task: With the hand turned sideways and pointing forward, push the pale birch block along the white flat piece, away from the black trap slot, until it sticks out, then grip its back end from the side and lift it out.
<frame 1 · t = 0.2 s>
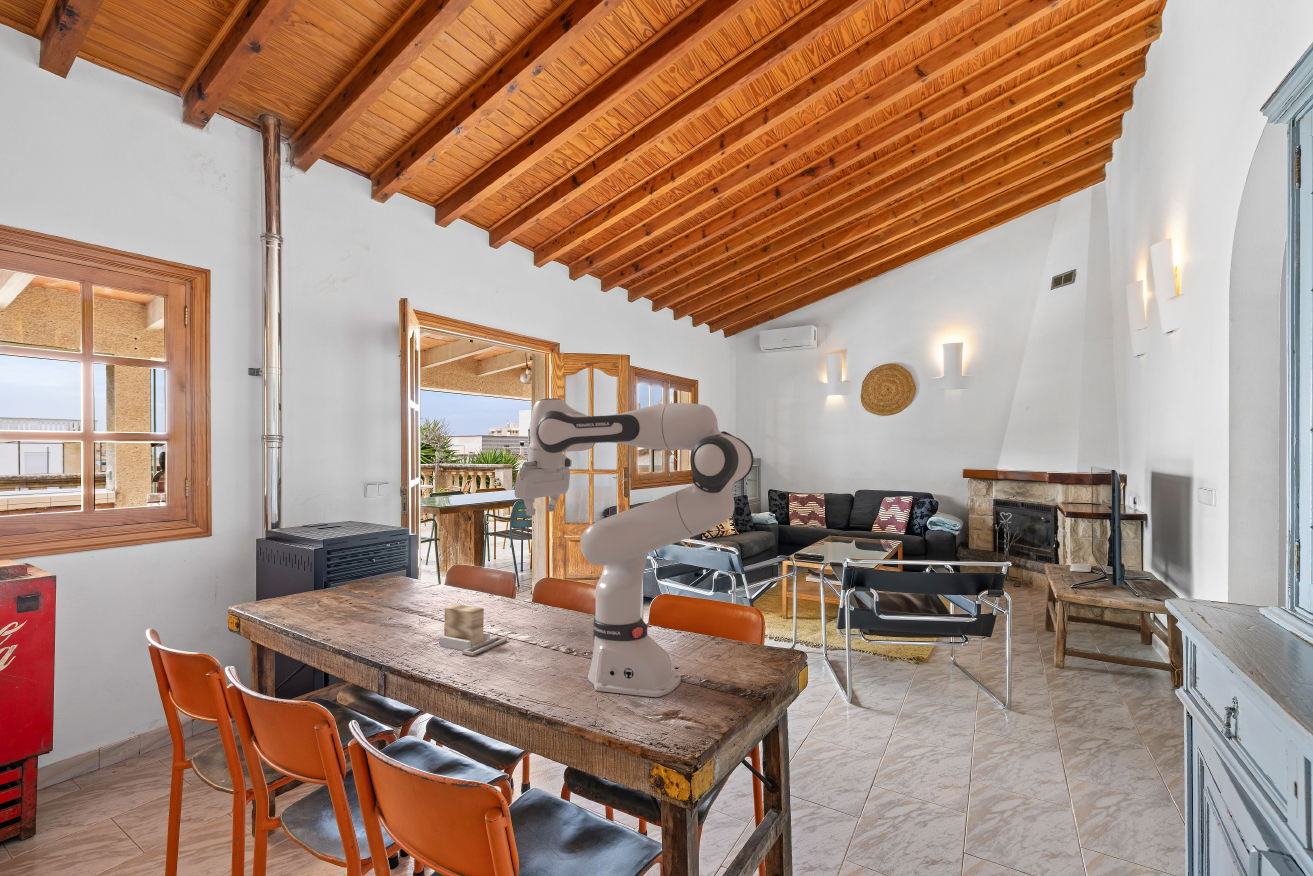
hand: (540, 513, 155), 38 cm above the table, fingers open, 8 cm apart
birch block: (463, 643, 167), on the table
white flat piece: (464, 643, 166), on the table
trap slot: (485, 647, 163), on the table
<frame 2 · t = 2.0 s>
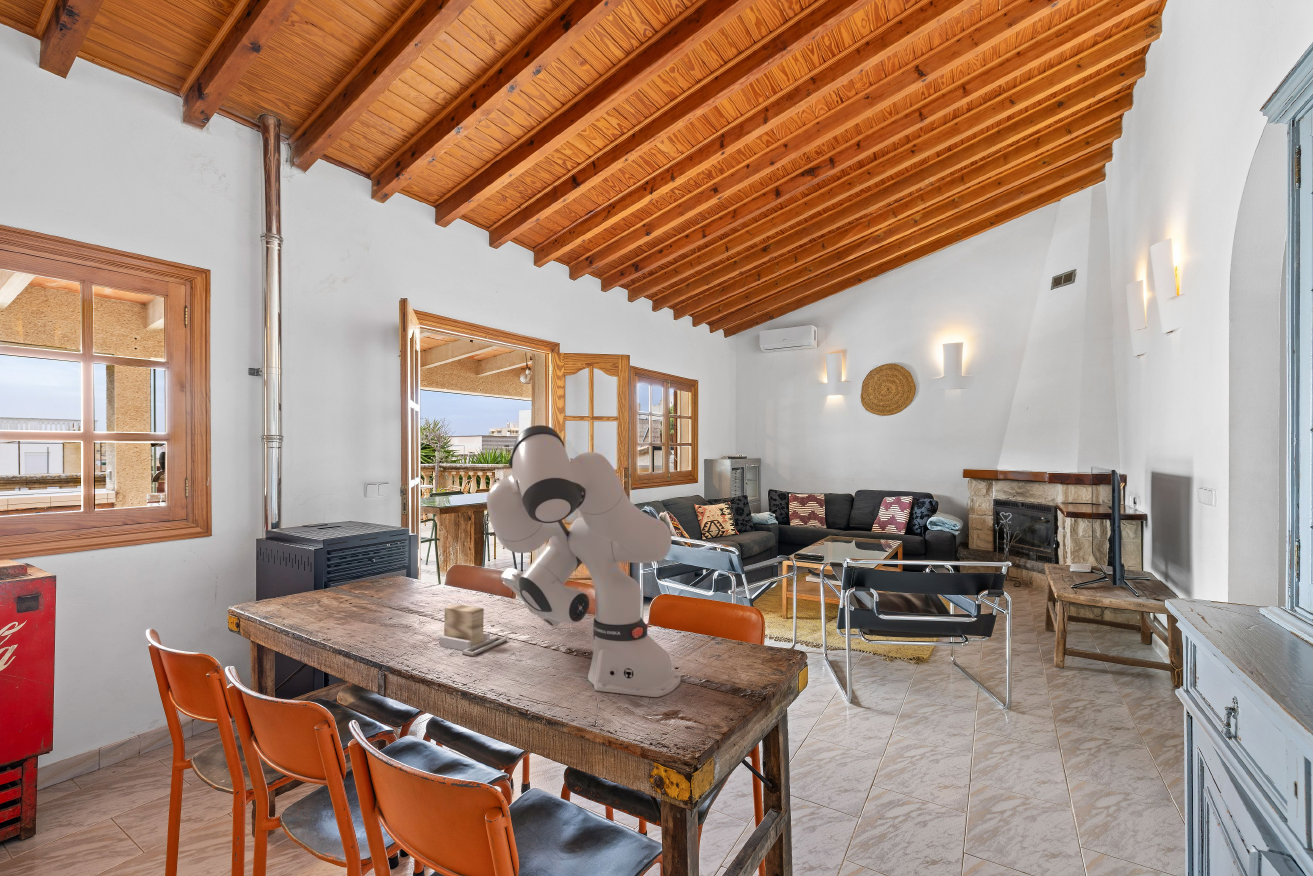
hand: (516, 592, 167), 15 cm above the table, fingers open, 8 cm apart
nothing on the table moved.
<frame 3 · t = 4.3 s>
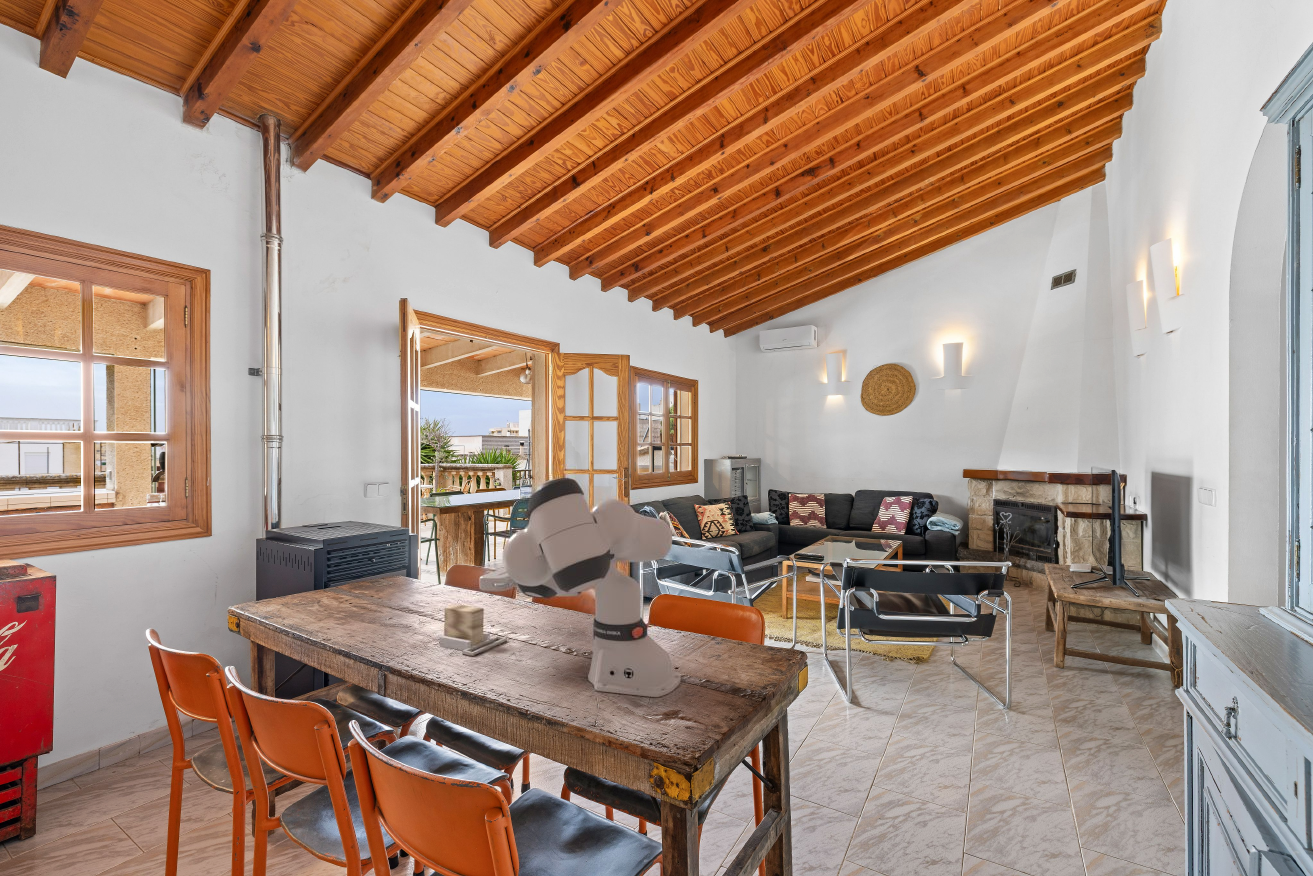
hand: (488, 573, 164), 20 cm above the table, fingers closed
nothing on the table moved.
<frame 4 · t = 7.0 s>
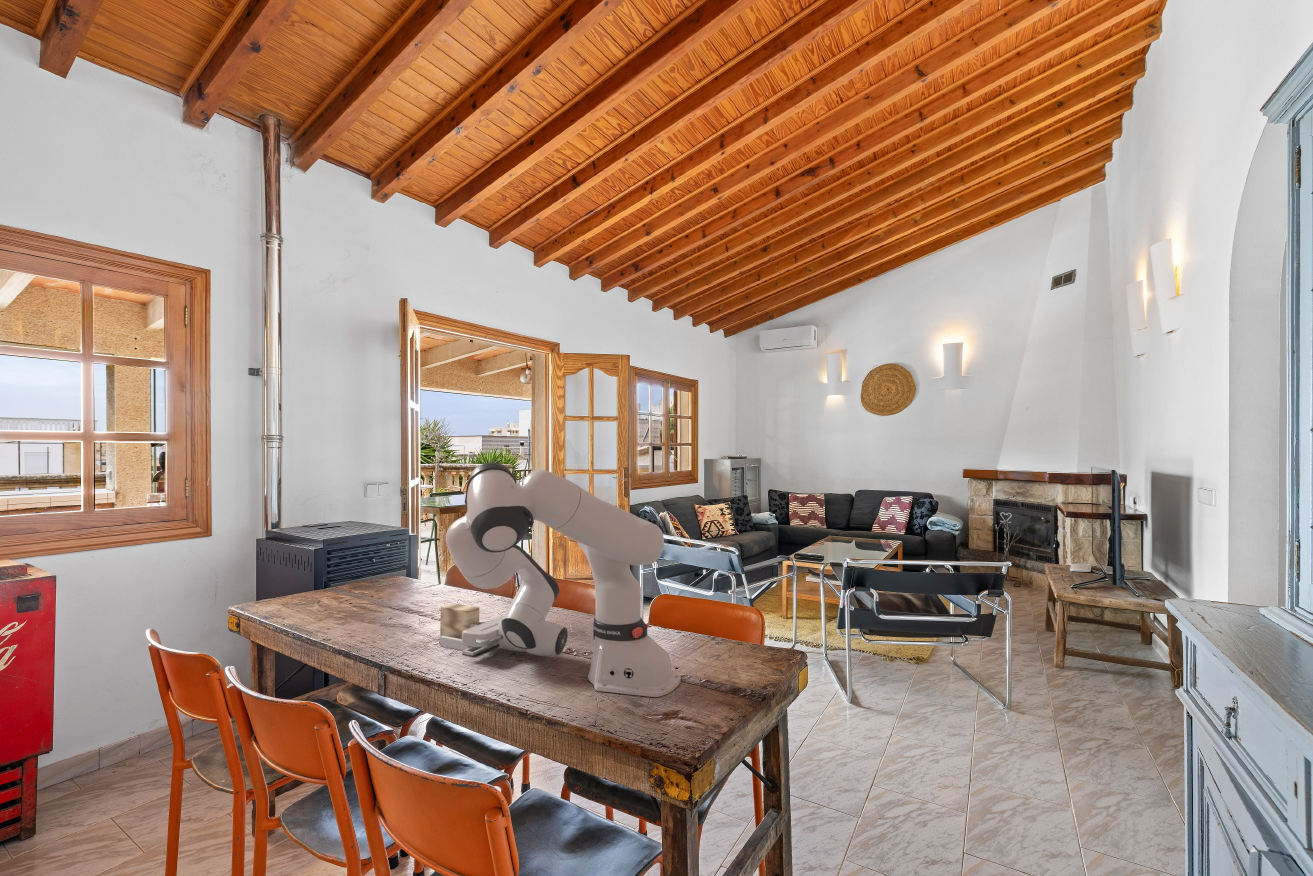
hand: (472, 625, 165), 6 cm above the table, fingers closed, pressing on birch block
birch block: (459, 642, 167), on the table, touching gripper
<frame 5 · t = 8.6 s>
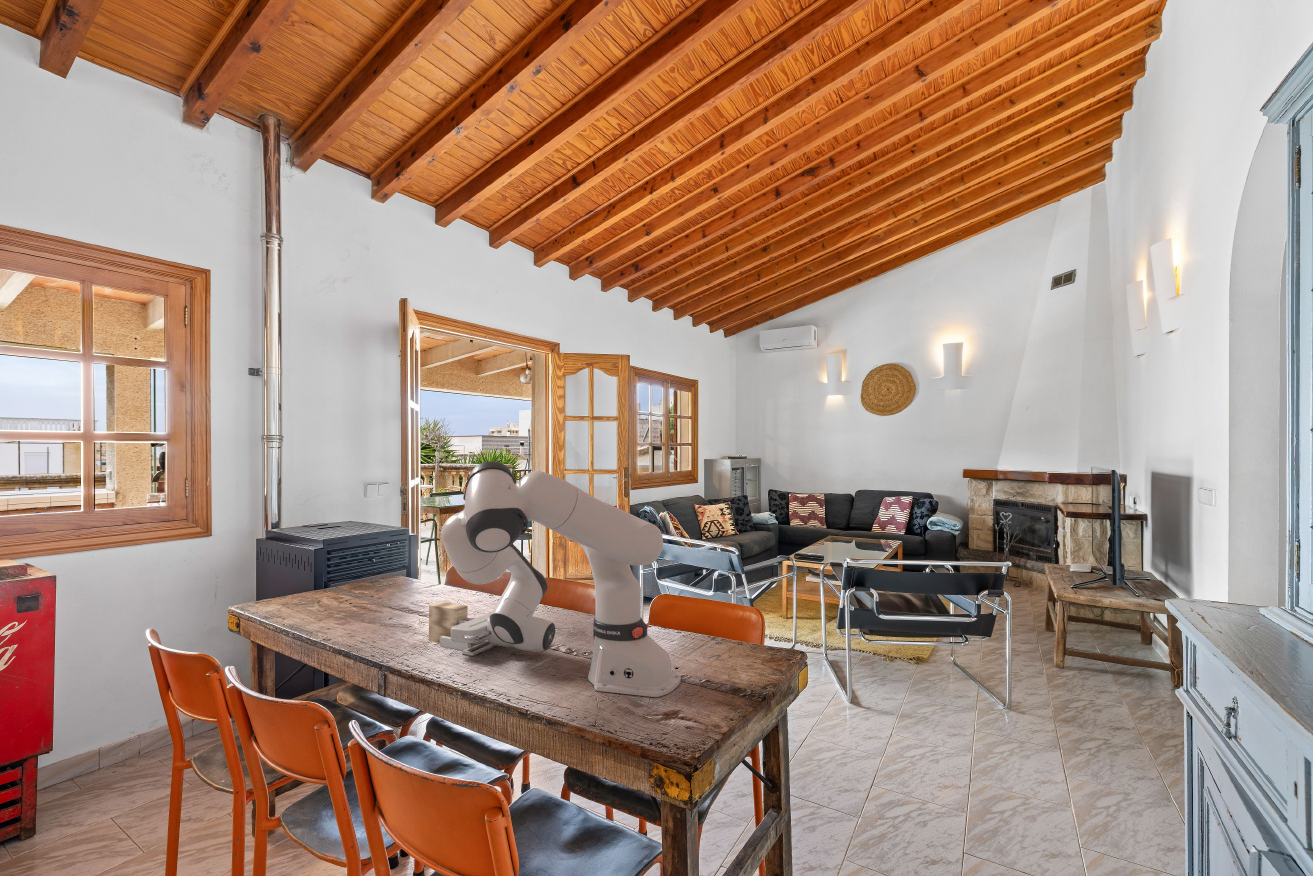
hand: (462, 621, 167), 6 cm above the table, fingers closed
birch block: (447, 640, 169), on the table
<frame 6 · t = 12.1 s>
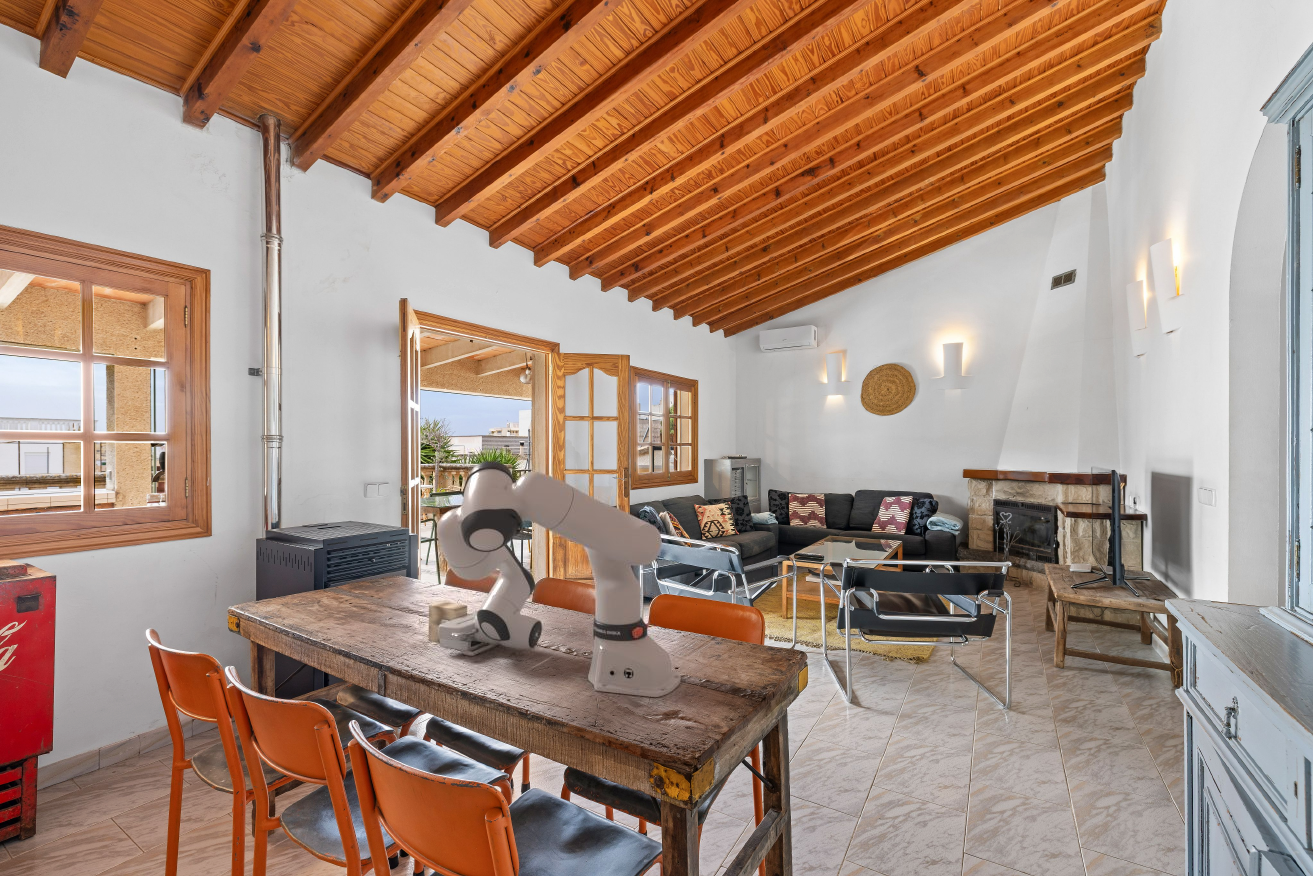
hand: (450, 619, 169), 6 cm above the table, fingers closed on birch block, 4 cm apart
birch block: (447, 640, 169), on the table, touching gripper
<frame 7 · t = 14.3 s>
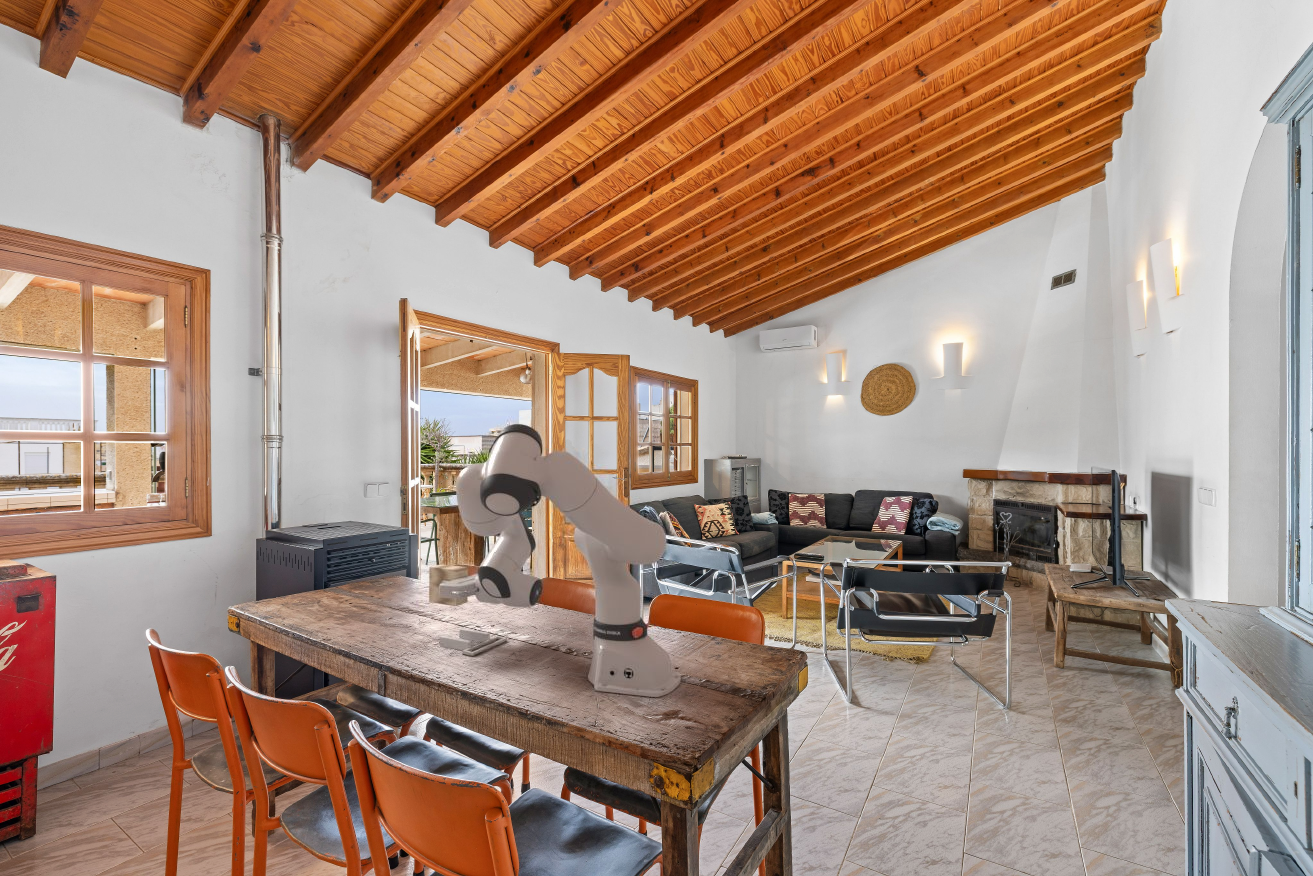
hand: (451, 581, 169), 17 cm above the table, fingers closed on birch block, 4 cm apart
birch block: (448, 602, 169), point 11 cm above the table, touching gripper
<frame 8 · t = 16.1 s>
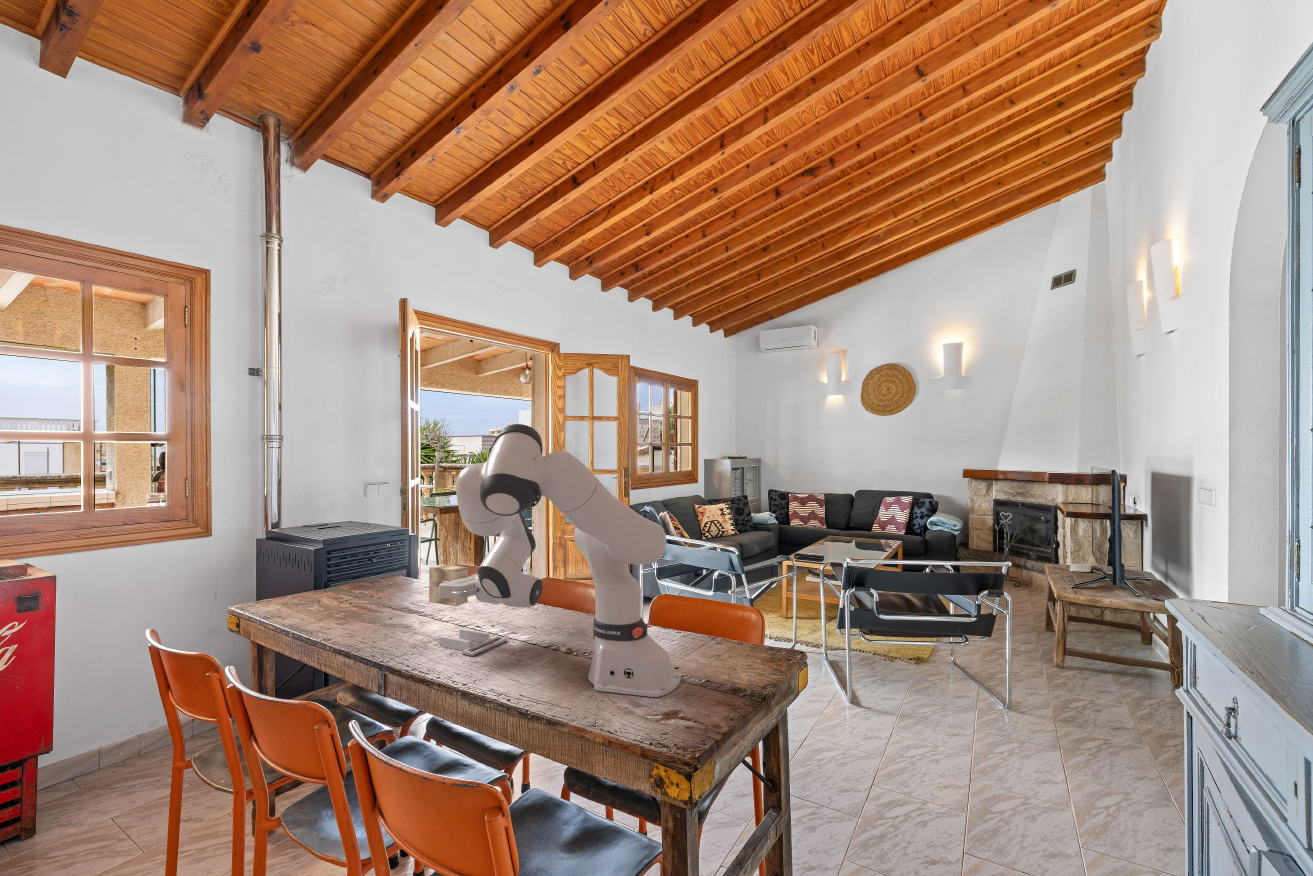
hand: (451, 581, 169), 17 cm above the table, fingers closed on birch block, 4 cm apart
birch block: (448, 602, 169), point 11 cm above the table, touching gripper
at the end: birch block inside the target area (0.6 cm from its centre), point 10.8 cm above the table; the gripper is holding birch block; birch block touching gripper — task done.
